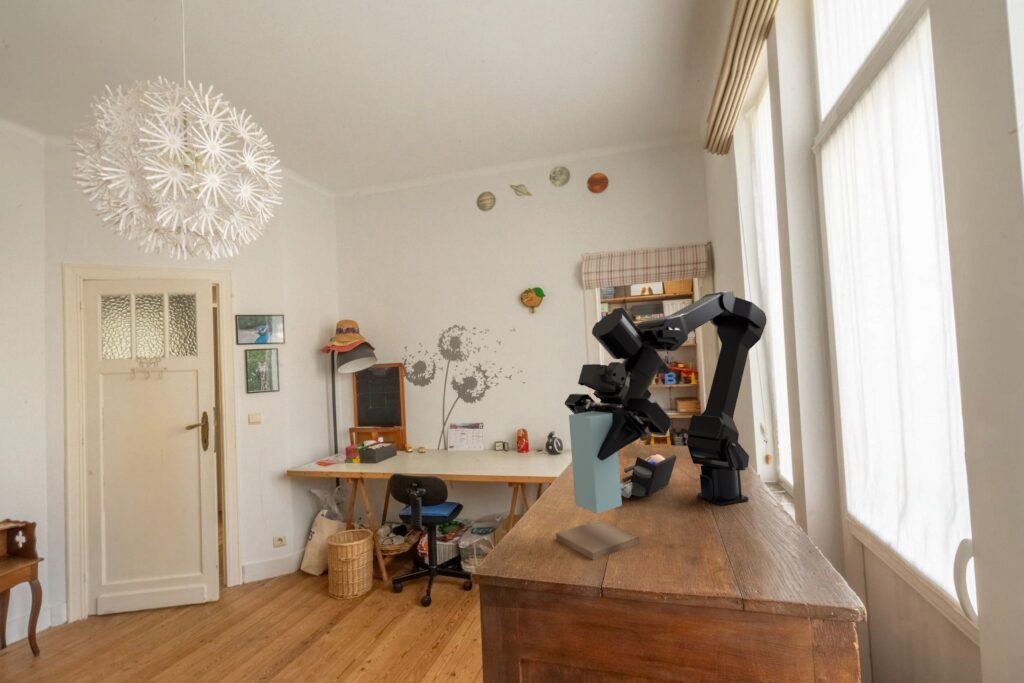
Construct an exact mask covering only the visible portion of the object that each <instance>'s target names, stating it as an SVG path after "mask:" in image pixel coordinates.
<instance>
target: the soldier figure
mask: <svg viewBox="0 0 1024 683" xmlns="http://www.w3.org/2000/svg"><path fill="white" fill-rule="evenodd" d="M630 482H631V481H630ZM620 487H621V497H622V496H623V497H624V498H626V499H629V498H630V497H631V496H633V494H631V490H632V482H631V483H629V484H627V483H621V482H620Z"/></svg>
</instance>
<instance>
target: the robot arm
mask: <svg viewBox="0 0 1024 683" xmlns="http://www.w3.org/2000/svg"><path fill="white" fill-rule="evenodd" d="M708 322H710V323H711V325H712V326H714V327H716V334H717V336H718V339H719V341H720V344H721V345H720V351H719V354H718V357H717V358H718V359H717V362H716V365H715V366H716V367H715V370H714V374H713V378H712V381H711V386H710V390H709V393H708V398H707V401H706V406H705V409H704V411H703V412H702V413H701V414H700V415H697V414H693V415H692V416H691V418H690V421H689V427H688V429H687V432H686V435H687V438H686V446H687V448H688V451H689V455H690V458H691V461H692V463H693V464H694V465H700V474H699V480H700V483H699V484H700V492H697V497H700V498H701V499H705V500H708V501H710V502H712V503H714V504H717V505H719V506H725V505H729V504H731V505H732V504H735V503H740V502H746V501H749V497H748V496H746V495H743V493H742V481H741V471H746V468H749V460H750V456H749V454H748V452H747V451H746V450H745V449H744V448H743V447H742V445H741V444H740V442H739V436H740V433H739V430H738V428H737V425H736V423H735V420H734V415H735V411H736V406H737V401H738V398H739V393H740V390H741V385H742V381H743V377H744V373H745V367H746V363H747V360H748V358H747V357H748V354H749V351H750V350H751V349H752V348H753V347H754V346H755V345H756V344H757V343H758V342H759V341H760V340H761V338H762V336H763V333H764V330H765V326H766V325H767V315H766V312H765V311H764V310H763V309H761V308H760V307H759V306H758V305H757V304H755V303H754V302H753V301H749V300H746V299H743V298H740V297H737V296H735V295H734V294H732V292H729V291H725V290H723V291H717V292H711V293H707V294H705V295H703V296H702V297H701V298H699V299H697V300H696V301H693V302H692V303H690V304H687V306H685V307H683V308H681V309H679V310H677V311H675V312H673V313H671V314H669V315H666V316H660V317H655V318H652V319H651V318H650V319H647V320H642V321H640V322H639V323H638V324H636V323H635V322H634V321H633V319H632V318H631V317H630V316H629V313H628V312H627V310H626V309H625V308H624V307H618V308H613V310H612V311H611V312H610V313H608V314H607V315H605V316H603V317H602V318H601V319H600V320H599V321H597V322H595V324H594V326H592V331H591V334H592V336H593V337H594V338H595V339H596V340H597V342H598V343H599V344H600V345H601V346H602V347H603V349H604V350H605V351H606V352H607V353H608V354H609V356H610V357H612V359H614V360H623V361H622V362H619V361H610V362H609V363H608V365H607V364H599V363H598V364H597V363H593V364H592V363H591V364H586V363H585V364H582V367H581V370H580V375H579V379H578V381H577V384H578V385H580V386H585V387H587V388H589V389H590V390H593V391H594V392H593V394H592V395H594V396H595V398H596V399H599V400H600V401H599V402H596V401H595V400H594V399H593V398H592V397H591V396H590V395H589V394H588V393H571V394H569V395H568V397H567V398H566V400H565V402H564V405H565V407H566V408H568V409H569V411H570V412H572V413H573V414H579V413H585V412H591V411H596V412H606V413H612V426H611V428H610V430H609V432H608V434H607V436H606V438H605V440H604V442H603V444H602V446H601V448H600V450H599V453H598V455H597V457H598V458H599V459H600V460H602V461H603V460H605V459H606V458H608V457H609V456H611V455H613V454H614V453H616V452H617V451H618V452H619V451H620V450H622V449H623V448H625V447H627V446H629V445H630V444H633V443H634V442H636V441H637V440H638V439H641V438H647V436H648V432H649V433H650V434H653V435H659V436H666V435H667V433H668V431H669V429H670V427H671V426H672V424H671V416H670V415H669V414H668V413H667V412H666V410H665V409H663V407H662V406H661V404H659V403H658V401H657V400H656V399H655V398H654V397H651V396H652V392H651V391H650V390H649V387H650V386H651V384H652V382H653V381H654V379H655V378H656V375H669V374H670V367H669V366H668V364H667V359H666V358H664V357H663V358H662V356H661V355H660V354H659V353H661V352H663V353H664V352H665V353H666V352H674V351H677V350H678V349H679V348H681V347H682V346H683V345H684V344H685V343H686V342H687V340H688V339H689V335H690V333H691V332H693V331H695V330H696V329H698V328H700V327H701V326H703V325H705V324H706V323H708ZM658 352H659V353H658ZM647 429H648V432H647Z"/></svg>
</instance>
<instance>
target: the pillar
mask: <svg viewBox="0 0 1024 683" xmlns="http://www.w3.org/2000/svg"><path fill="white" fill-rule="evenodd" d="M568 422H569V424H568V425H569V433H570V434H569V435H570V448H571V450H570V451H571V464H572V476H573V477H572V478H573V488H574V489H573V490H574V491H573V492H574V504H575V506H577V507H580V508H582V509H584V510H587V511H589V512H592V513H595V514H601V513H603V512H606V511H609V510H612V509H615V508H618V507H622V506H623V504H622V502H623V501H622V495H621V487H620V483H621V476H620V475H621V474H620V463H619V462H620V461H619V451H617V452H616V453H614V454H613V455H611V456H609V457H608V458H606V459H605V460H603V461H602V460H600V459H599V458H598V457H597V455H598V453H599V450H600V448H601V446H602V444H603V442H604V440H605V438H606V436H607V434H608V432H609V430H610V428H611V426H612V413H606V412H596V411H591V412H585V413H579V414H574V413H573V414H569V415H568Z"/></svg>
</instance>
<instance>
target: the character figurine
mask: <svg viewBox="0 0 1024 683" xmlns="http://www.w3.org/2000/svg"><path fill="white" fill-rule="evenodd" d="M677 458H678V457H677V456H676V455H675V454H673V455H671V456H669V457H664V455H662V454H657V453H655V454H651V455H649V456H648V457H647V458H646V459H643V458H642V457H639V456H636V460H635V464H632V465H631V466H628V467H626V468H624V470H623V471H624V473H626V474H628V473H629V472H631V471H632V473H631V474H630V475H628V476H626V477H623V478H622V479H621V482H622V483H626V484H629V483H631V482H632V490H631V494H632V496H636V497H644V496H646V497H651V495H654V494H655V493H657V492H659V491H660V490H662V489H663V488H665V487H667V486H668V485H669V484H670V480H671V477H672V474H673V470H674V467H675V463H676V460H677Z"/></svg>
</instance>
